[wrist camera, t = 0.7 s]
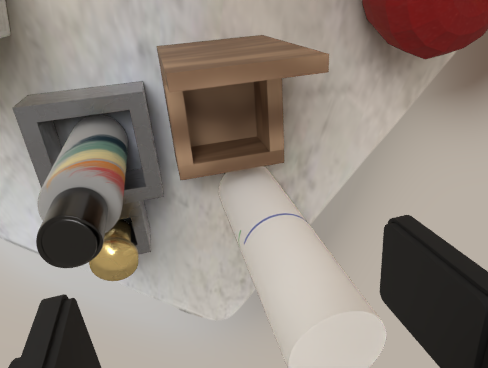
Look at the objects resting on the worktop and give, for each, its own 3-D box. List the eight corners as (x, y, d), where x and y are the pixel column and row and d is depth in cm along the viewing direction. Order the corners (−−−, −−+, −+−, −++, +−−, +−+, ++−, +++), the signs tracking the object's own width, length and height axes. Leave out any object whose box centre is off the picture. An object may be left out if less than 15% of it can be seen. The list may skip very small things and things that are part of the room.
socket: (27, 95, 36) (12, 108, 32) (142, 81, 38) (142, 91, 34) (77, 241, 44) (70, 268, 40) (170, 223, 46) (173, 247, 42)
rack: (156, 46, 37) (166, 73, 23) (262, 35, 39) (328, 54, 25) (175, 158, 43) (192, 234, 29) (267, 143, 45) (324, 208, 31)
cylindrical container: (283, 174, 47) (405, 322, 26) (257, 220, 49) (348, 393, 28) (235, 153, 44) (325, 300, 23) (208, 203, 47) (268, 382, 25)
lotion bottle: (103, 174, 42) (76, 298, 24) (59, 139, 39) (-7, 252, 22) (139, 139, 41) (138, 242, 24) (97, 102, 38) (60, 187, 21)
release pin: (91, 216, 39) (83, 248, 34) (134, 208, 40) (132, 238, 35) (101, 250, 41) (96, 285, 36) (142, 242, 42) (142, 275, 37)
